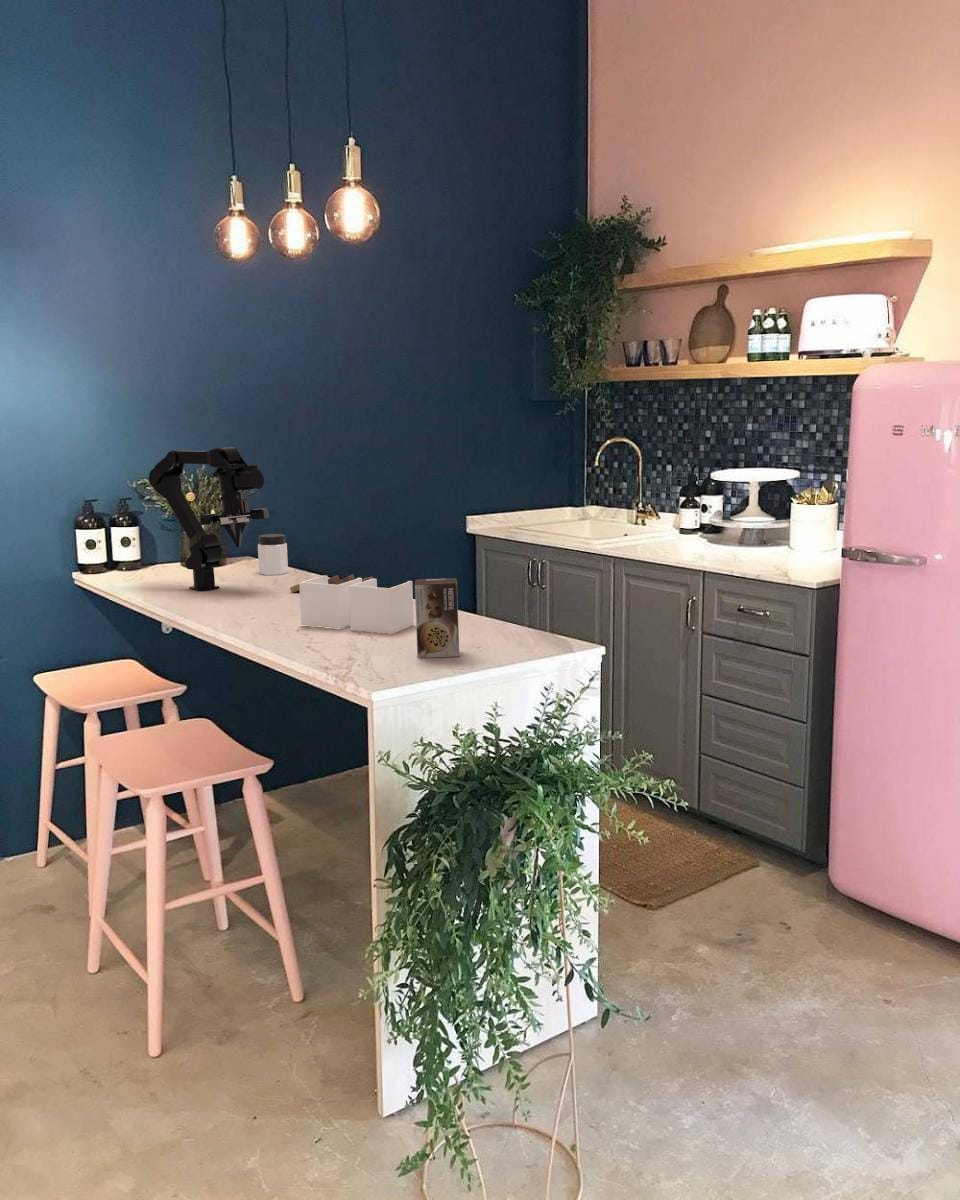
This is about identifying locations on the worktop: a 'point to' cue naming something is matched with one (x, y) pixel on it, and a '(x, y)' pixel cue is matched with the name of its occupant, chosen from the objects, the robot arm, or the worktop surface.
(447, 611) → the coffee box
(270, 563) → the jar
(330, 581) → the domino
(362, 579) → the domino
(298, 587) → the domino
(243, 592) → the worktop surface
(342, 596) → the white open box
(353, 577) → the domino
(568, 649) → the worktop surface
